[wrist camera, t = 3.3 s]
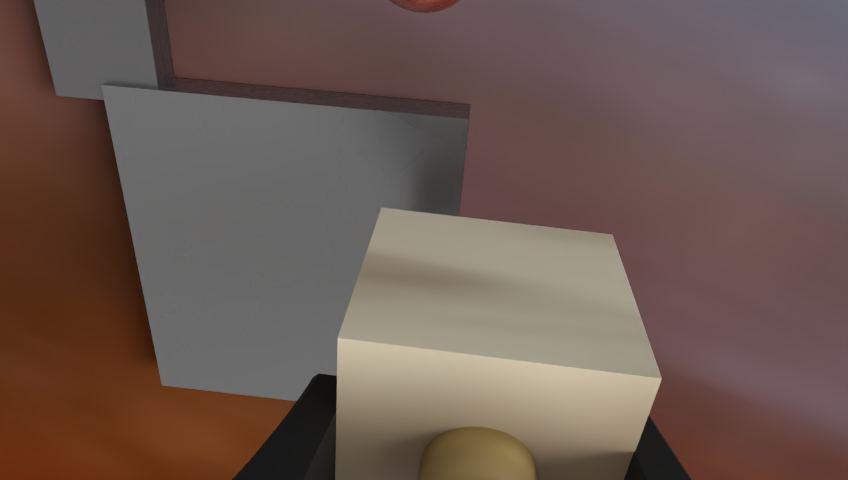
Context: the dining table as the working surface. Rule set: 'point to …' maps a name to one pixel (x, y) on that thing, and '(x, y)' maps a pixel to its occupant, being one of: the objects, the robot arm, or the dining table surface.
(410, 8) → the lever
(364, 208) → the grey panel board
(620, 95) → the dining table surface
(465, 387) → the block
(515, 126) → the dining table surface
